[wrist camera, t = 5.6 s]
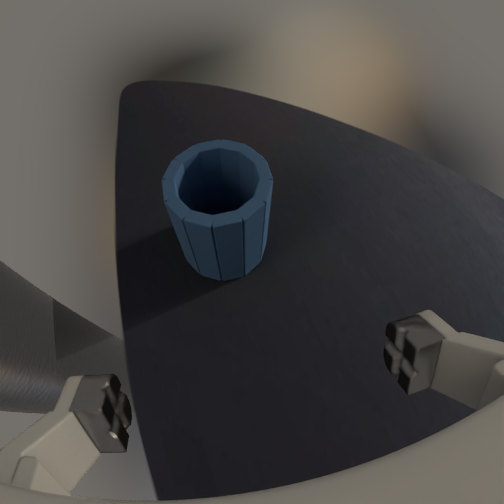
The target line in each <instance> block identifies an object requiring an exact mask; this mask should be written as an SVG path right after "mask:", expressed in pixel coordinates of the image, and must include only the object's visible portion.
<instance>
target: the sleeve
mask: <svg viewBox="0 0 504 504" xmlns="http://www.w3.org/2000/svg"><path fill="white" fill-rule="evenodd" d="M272 187H273V177H272V175H271V172H270V169H269V167H268V164H267V161H266V160H264V157H263V156H261V155H260V154H258V153H257V152H256V151H254V150H253V149H252V148H250V147H249V146H248V145H246V146H245V144H243V143H238V142H233V141H228V140H223V139H221V141H220V140H214V141H209V142H203V143H199V144H195V146H194V145H193V146H191V147H190V148H188V149H187V150H185V151H184V152H182V153H181V154H179V155H178V156H176V157H175V158H174V160H172V161H171V163H170V165H169V167H168V169H167V170H166V172H165V174H164V176H163V178H162V190H163V199H164V203H165V206H166V208H167V211H168V214H169V216H170V219H171V222H172V224H173V227H174V229H175V232H176V235H177V237H178V240H179V242H180V245H181V247H182V250H183V253H184V255H185V258H186V260H187V262H188V263H189V264H190V265H191V266H192V267H193V268H194V269H195V270H196V271H197V272H198V273H199V274H201V275H202V276H205V277H208V278H212V279H215V280H219V281H221V280H223V281H226V280H231V279H235V278H240V277H243V276H244V275H247V274H248V273H249V272H250V271H251V270H252V269H253V268H254V267H256V266H257V265H258V264H259V263H260V261H261V260H262V256H263V253H264V249H265V246H266V241H267V232H268V223H269V214H270V205H271V196H272Z"/></svg>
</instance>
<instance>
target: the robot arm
mask: <svg viewBox="0 0 504 504" xmlns="http://www.w3.org/2000/svg"><path fill="white" fill-rule="evenodd" d="M385 335H386V336H387V337H388V338H389V340H388V341H387V343H386V344H385V346H384V354H383V355H384V360H385V364H386V366H387V368H388V370H389V371H390V373H391V374H394V375H396V376H399V379H398V383H399V384H400V386H401V387H402V388H403V390H404V391H405V392H406V393H407V395H411V394H413V393H416V392H419V391H421V390H424V389H426V388H429V387H431V388H432V389H434V390H436V391H438V392H440V393H442V394H444V395H446V396H448V397H450V398H452V399H454V400H457V401H459V402H461V403H463V404H465V405H467V406H469V407H471V408H474V409H476V411H475V413H473V414H471V415H470V416H468V417H466V418H464V419H462V420H461V421H459V422H457V423H455V424H453V425H451V426H449V427H447V428H445V429H443V430H441V431H439V432H437V433H435V434H433V435H431V436H429V437H427V438H425V439H423V440H421V441H419V442H416V443H414V444H412V445H410V446H407V447H405V448H403V449H400V450H398V451H395V452H393V453H391V454H388V455H385V456H383V457H380V458H378V459H375V460H372V461H370V462H367V463H364V464H361V465H358V466H355V467H352V468H349V469H346V470H343V471H340V472H336V473H333V474H330V475H326V476H323V477H319V478H315V479H312V480H308V481H304V482H300V483H295V484H291V485H287V486H282V487H277V488H272V489H267V490H261V491H256V492H250V493H243V494H236V495H229V496H221V497H212V498H201V499H188V500H168V501H126V500H125V501H123V500H106V499H93V498H83V497H74V496H72V495H71V494H70V492H71V491H72V489H73V488H74V487H75V486H76V484H77V483H78V482H79V481H80V480H81V478H82V477H83V476H84V475H85V473H86V472H87V471H88V470H89V469H90V467H91V466H92V465H93V464H94V462H95V461H96V460H97V459H98V457H99V456H100V455H101V453H120V452H126V451H127V444H128V438H129V435H128V433H127V431H126V429H127V428H128V427H129V426H130V425H131V420H132V413H131V406H130V403H129V400H128V398H127V396H126V395H125V394H124V393H122V392H121V391H120V387H121V383H120V381H119V379H118V377H117V376H116V375H114V374H105V375H85V376H71V377H69V378H68V379H67V381H66V383H65V386H64V388H63V390H62V392H61V395H60V397H59V399H58V402H57V404H56V406H55V409H54V411H49V412H48V413H46V414H45V415H44V416H43V417H42V418H40V419H39V420H38V421H36V422H35V423H34V424H32V425H31V426H30V427H28V428H27V429H26V430H25V431H23V432H22V433H21V434H20V435H18V436H17V437H16V438H14V439H13V440H12V441H10V442H9V443H8V444H7V445H6V446H4V447H3V448H1V449H0V504H504V342H501V341H496V340H492V339H488V338H484V337H480V336H476V335H472V334H468V333H464V332H461V333H458V332H457V331H455V330H454V329H453V328H452V327H451V326H449V325H448V324H447V323H446V322H445V321H443V320H442V319H441V318H440V317H439V316H437V315H436V314H435V313H434V312H433V311H431V310H425V311H423V312H420V313H417V314H415V315H412V316H409V317H406V318H403V319H400V320H396V321H393V322H390V323H388V325H387V327H386V334H385Z"/></svg>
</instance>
